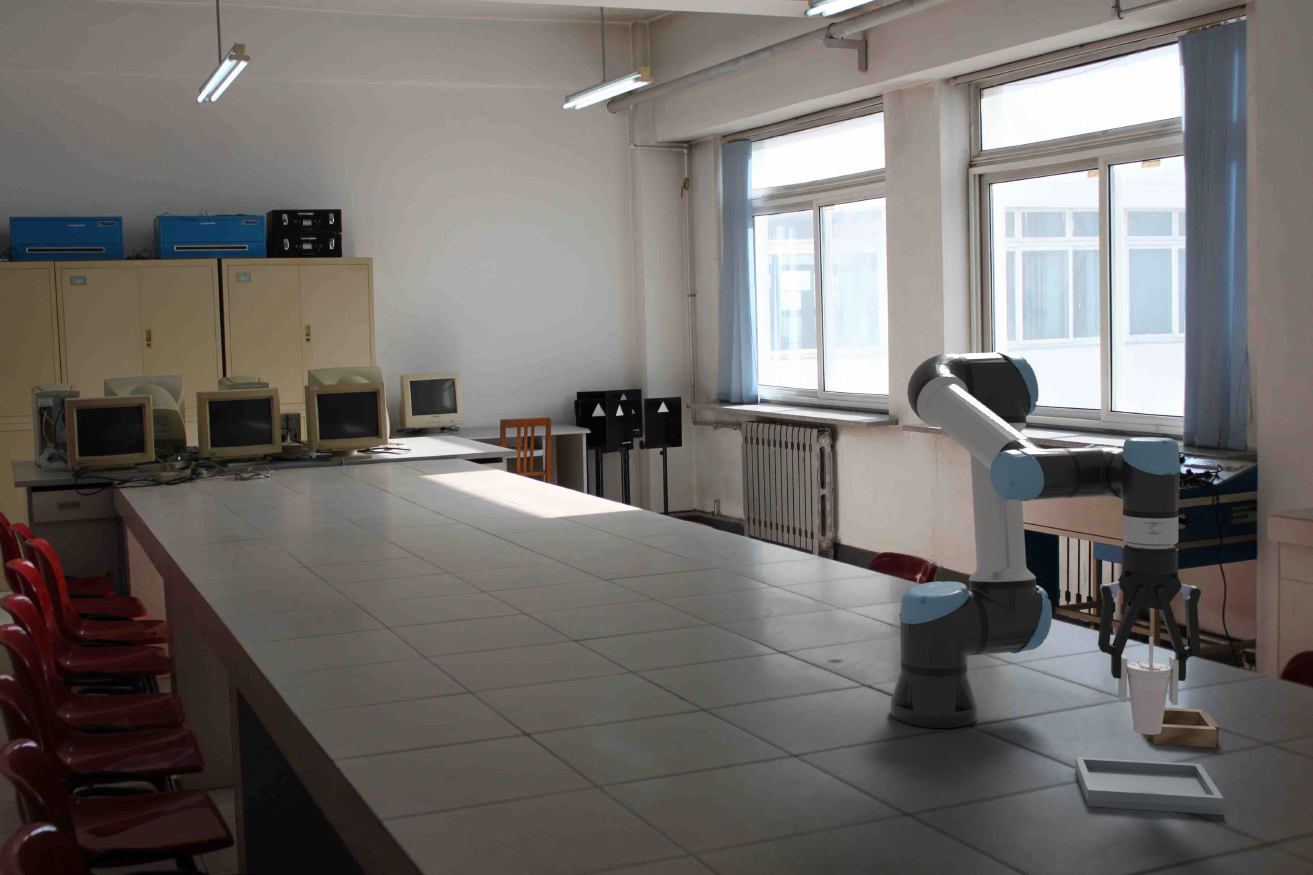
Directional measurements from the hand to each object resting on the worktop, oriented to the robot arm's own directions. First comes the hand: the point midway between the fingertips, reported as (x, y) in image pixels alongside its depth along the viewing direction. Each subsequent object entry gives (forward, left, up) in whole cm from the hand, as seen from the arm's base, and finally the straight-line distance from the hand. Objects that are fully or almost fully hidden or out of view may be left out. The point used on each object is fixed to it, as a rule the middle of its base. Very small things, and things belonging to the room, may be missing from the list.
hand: (1147, 700), depth 174 cm
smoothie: (0, 0, -5) cm, 5 cm away
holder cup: (+10, +28, -14) cm, 33 cm away
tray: (0, 0, -14) cm, 14 cm away
